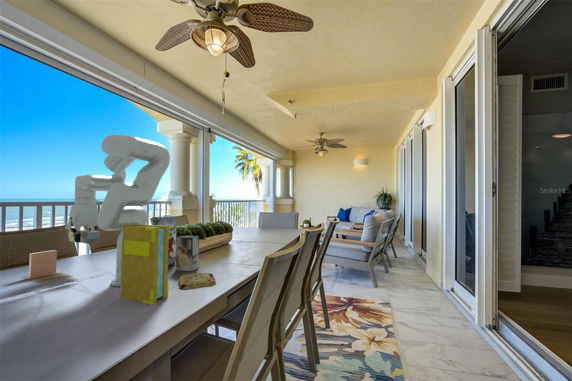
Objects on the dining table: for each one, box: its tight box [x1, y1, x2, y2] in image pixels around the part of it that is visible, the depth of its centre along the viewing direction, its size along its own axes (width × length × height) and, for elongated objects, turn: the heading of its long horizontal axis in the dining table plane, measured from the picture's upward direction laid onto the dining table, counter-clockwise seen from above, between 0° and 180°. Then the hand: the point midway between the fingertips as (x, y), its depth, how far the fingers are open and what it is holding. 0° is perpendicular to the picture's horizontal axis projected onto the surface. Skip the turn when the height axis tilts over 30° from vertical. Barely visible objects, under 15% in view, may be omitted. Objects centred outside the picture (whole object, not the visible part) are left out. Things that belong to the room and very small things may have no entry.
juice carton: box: [151, 213, 178, 268], centre depth 123 cm, size 9×10×27 cm
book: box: [119, 224, 170, 306], centre depth 84 cm, size 17×7×25 cm, turn 71°
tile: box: [28, 249, 58, 278], centre depth 102 cm, size 2×8×10 cm, turn 155°
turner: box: [68, 229, 101, 245], centre depth 110 cm, size 18×4×5 cm, turn 65°
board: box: [21, 271, 73, 284], centre depth 100 cm, size 18×10×2 cm, turn 65°
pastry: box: [178, 272, 217, 290], centre depth 99 cm, size 17×17×3 cm
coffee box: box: [175, 235, 200, 272], centre depth 118 cm, size 9×6×16 cm
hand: (83, 240), depth 110 cm, fingers closed on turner, 4 cm apart
